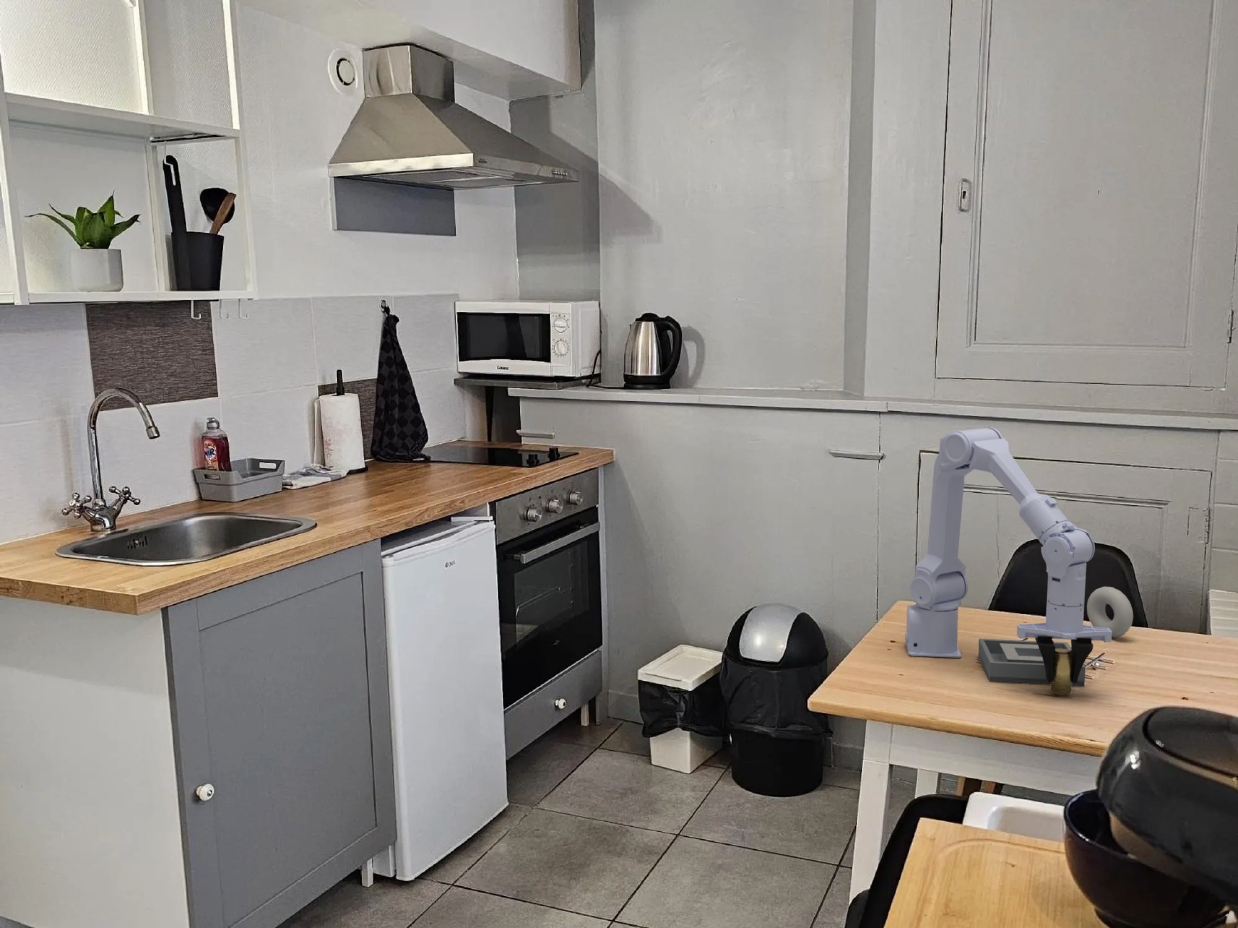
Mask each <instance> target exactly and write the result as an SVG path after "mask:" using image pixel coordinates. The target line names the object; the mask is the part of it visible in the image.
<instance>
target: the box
mask: <svg viewBox="0 0 1238 928" xmlns="http://www.w3.org/2000/svg"><path fill="white" fill-rule="evenodd" d="M999 643H1005V644H1028V645H1038V644H1037V642H1036V640H1024V639H1022V640H1021V639H1019V640H1018V639H998V638H997V639H996V638H995V639H994V638H978V650H977V651H978V652H977V653H978V654H977V657H978V660H979V659H980V660H979V662H980V664H981V663H982V664H981V666H982V669H983V670H984V673H985V675H986V678H987V679H988V681H989V683H1001V684H1002V683H1003V684H1004V683H1005V684H1022V683H1025V684H1026V683H1029V684H1028V685H1042V684H1051V682H1048V680H1047V679H1046V671H1045V666H1044V664H1041V663H1019V662H1001V660H1000V658H999ZM1070 645H1071V644H1069V642H1066V641H1054V646H1055V647H1056V648H1055V649H1057V648H1062V649H1068V650H1071V646H1070ZM1085 679H1086V666H1085V663H1084V664H1083V666H1082V668H1081V671H1080V674H1079V677H1078V680H1077V683H1072V685H1073V686H1072V687H1083V686H1084V687H1085V685H1086V684H1085V681H1086V680H1085ZM1026 685H1027V684H1026Z"/></svg>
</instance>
